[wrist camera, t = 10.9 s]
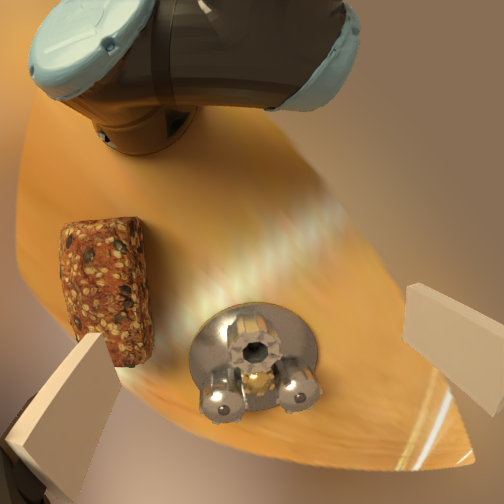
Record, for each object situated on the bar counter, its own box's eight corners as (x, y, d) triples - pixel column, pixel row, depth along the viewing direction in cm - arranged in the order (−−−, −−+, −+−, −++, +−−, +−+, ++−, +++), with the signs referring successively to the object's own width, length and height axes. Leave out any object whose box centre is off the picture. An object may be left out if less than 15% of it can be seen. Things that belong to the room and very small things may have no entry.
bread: (159, 338, 40) (145, 375, 30) (98, 336, 39) (73, 368, 29) (147, 213, 36) (123, 218, 27) (81, 219, 35) (44, 225, 25)
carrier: (177, 311, 39) (169, 335, 32) (313, 292, 41) (332, 311, 33) (203, 412, 43) (202, 443, 35) (315, 395, 45) (328, 422, 37)
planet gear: (223, 314, 39) (224, 333, 33) (271, 307, 39) (279, 325, 33) (230, 354, 40) (232, 377, 34) (275, 348, 40) (283, 369, 35)
